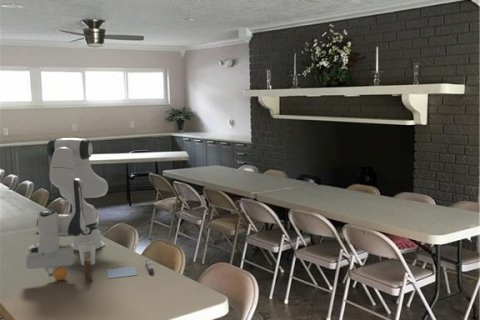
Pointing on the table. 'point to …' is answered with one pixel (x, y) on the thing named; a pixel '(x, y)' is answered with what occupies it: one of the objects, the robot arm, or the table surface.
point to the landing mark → (121, 272)
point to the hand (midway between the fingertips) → (50, 276)
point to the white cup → (86, 248)
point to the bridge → (87, 266)
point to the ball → (60, 273)
